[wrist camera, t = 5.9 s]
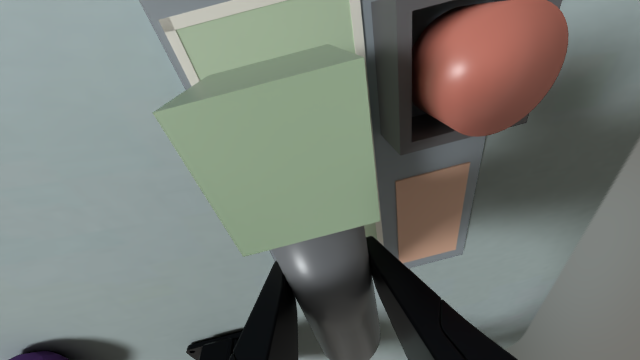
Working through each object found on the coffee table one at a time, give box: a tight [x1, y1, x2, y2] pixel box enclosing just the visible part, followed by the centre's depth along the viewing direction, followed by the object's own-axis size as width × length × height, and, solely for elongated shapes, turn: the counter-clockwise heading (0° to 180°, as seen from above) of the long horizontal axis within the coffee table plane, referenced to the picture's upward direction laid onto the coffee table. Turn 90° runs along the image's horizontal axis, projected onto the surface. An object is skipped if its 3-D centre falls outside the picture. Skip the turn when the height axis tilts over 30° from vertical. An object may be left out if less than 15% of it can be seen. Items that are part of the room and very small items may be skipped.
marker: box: [153, 44, 380, 360], centre depth 9 cm, size 14×3×3 cm, turn 12°
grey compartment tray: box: [139, 0, 562, 278], centre depth 13 cm, size 20×14×3 cm
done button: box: [412, 0, 568, 137], centre depth 9 cm, size 4×4×3 cm
